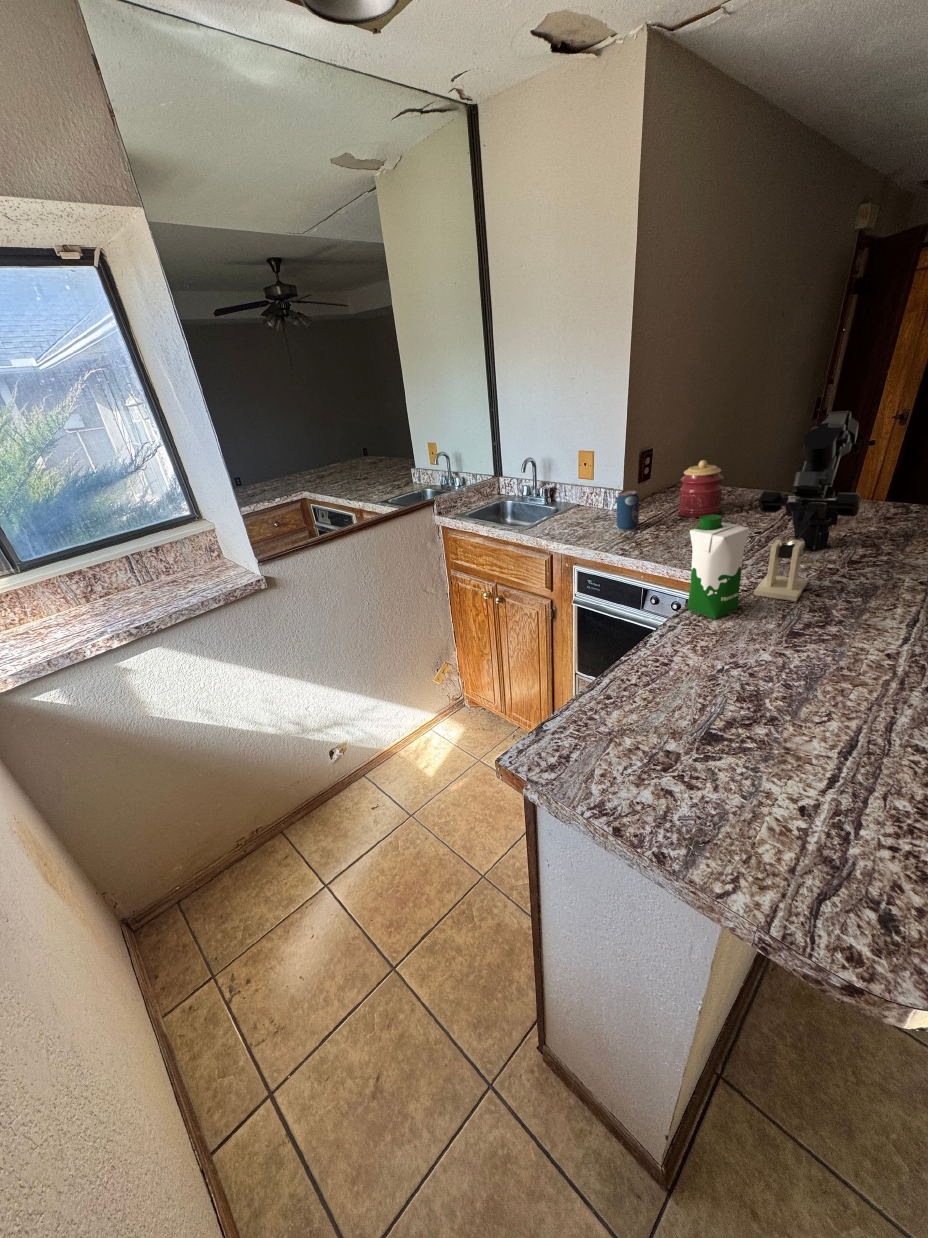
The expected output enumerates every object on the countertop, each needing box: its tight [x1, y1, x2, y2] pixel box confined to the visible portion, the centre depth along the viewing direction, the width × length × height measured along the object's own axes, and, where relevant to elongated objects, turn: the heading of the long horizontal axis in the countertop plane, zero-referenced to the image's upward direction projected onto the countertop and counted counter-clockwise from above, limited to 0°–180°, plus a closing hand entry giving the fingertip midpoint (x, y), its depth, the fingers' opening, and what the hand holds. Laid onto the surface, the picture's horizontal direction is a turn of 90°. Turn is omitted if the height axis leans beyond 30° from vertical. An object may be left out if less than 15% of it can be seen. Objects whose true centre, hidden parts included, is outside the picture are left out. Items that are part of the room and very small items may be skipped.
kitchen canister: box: [678, 459, 725, 518], centre depth 162 cm, size 13×13×18 cm
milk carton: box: [686, 514, 750, 620], centre depth 99 cm, size 9×9×20 cm
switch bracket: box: [753, 539, 808, 602], centre depth 104 cm, size 10×8×11 cm
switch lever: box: [778, 536, 805, 560], centre depth 106 cm, size 12×4×4 cm, turn 137°
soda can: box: [616, 490, 640, 532], centre depth 159 cm, size 7×7×12 cm
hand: (796, 536), depth 108 cm, fingers closed
